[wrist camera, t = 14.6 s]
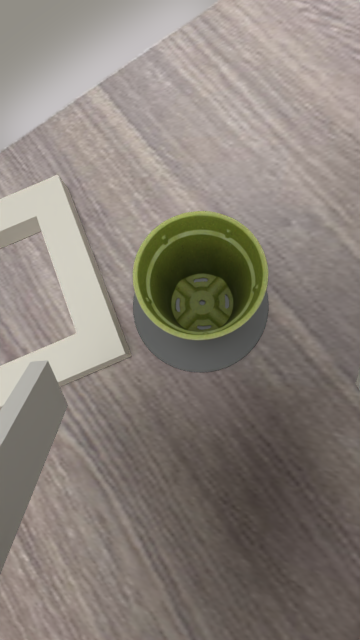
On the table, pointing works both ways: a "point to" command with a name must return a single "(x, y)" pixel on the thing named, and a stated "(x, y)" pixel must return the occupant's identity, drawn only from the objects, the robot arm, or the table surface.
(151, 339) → the mat
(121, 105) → the table surface
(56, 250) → the well board
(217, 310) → the plant pot
